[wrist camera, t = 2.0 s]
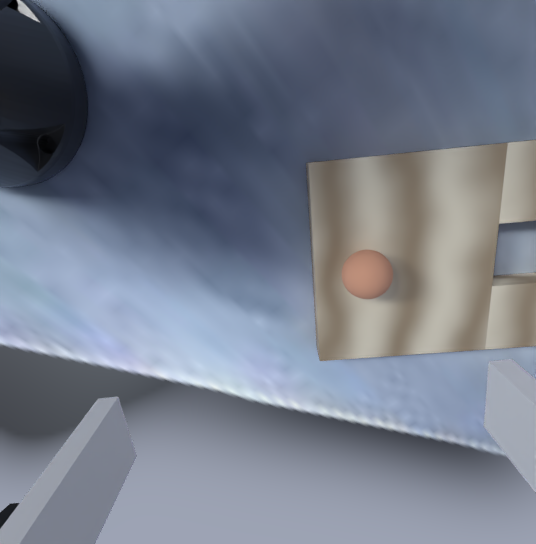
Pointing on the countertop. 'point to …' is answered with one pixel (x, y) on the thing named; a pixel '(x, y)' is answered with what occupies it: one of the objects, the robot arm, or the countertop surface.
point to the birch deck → (422, 250)
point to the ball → (367, 274)
